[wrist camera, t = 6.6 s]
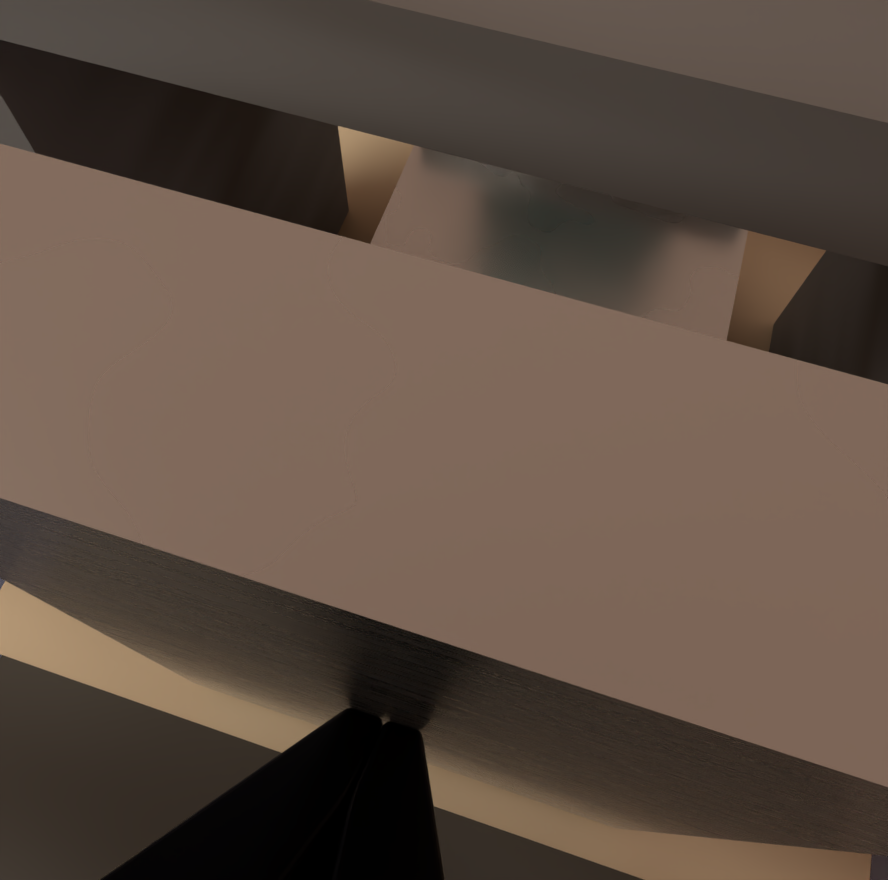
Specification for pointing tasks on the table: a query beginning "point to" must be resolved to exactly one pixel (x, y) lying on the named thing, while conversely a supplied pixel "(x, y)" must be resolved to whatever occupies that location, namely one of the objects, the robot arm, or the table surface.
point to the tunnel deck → (357, 217)
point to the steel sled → (459, 487)
